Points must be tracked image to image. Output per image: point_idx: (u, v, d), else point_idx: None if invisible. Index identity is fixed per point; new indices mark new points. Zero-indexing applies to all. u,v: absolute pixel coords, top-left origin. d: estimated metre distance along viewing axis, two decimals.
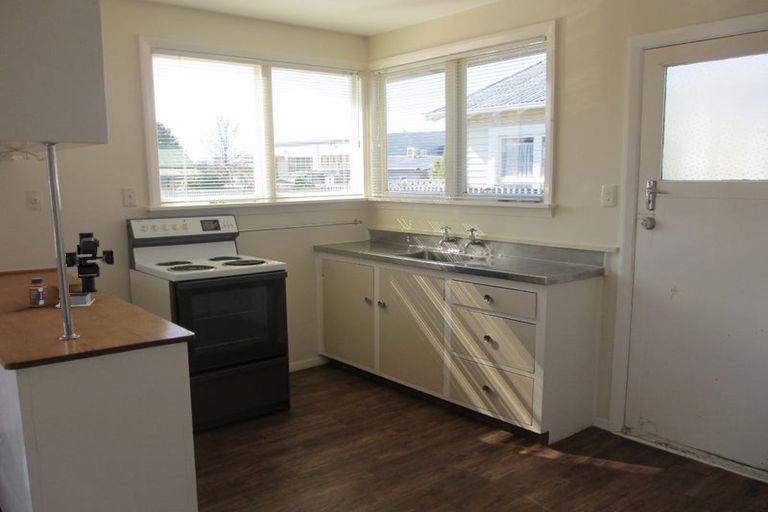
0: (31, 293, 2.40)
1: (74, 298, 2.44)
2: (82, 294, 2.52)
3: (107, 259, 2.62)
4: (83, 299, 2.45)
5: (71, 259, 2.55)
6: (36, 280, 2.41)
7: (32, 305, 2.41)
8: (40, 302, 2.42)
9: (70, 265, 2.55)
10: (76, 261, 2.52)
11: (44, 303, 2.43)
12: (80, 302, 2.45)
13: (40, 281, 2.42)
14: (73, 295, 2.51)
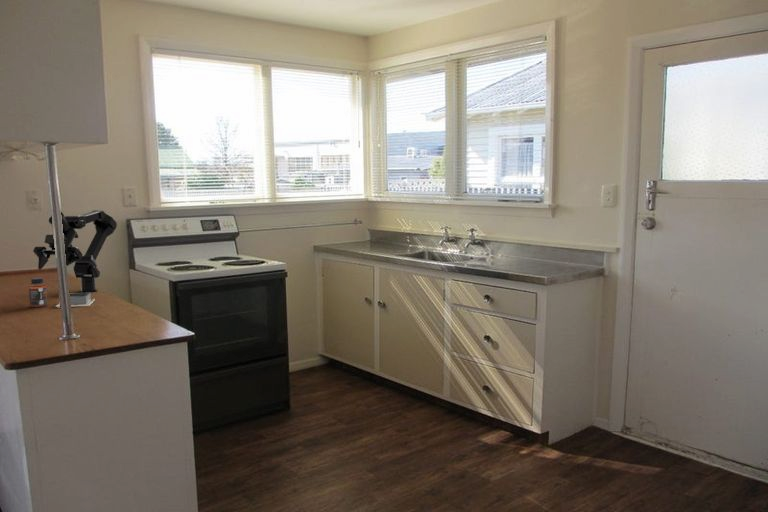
0: (31, 293, 2.40)
1: (74, 298, 2.44)
2: (82, 294, 2.52)
3: (72, 257, 2.54)
4: (83, 299, 2.45)
5: None
6: (36, 280, 2.41)
7: (32, 305, 2.41)
8: (40, 302, 2.42)
9: None
10: None
11: (44, 303, 2.43)
12: (80, 302, 2.45)
13: (40, 281, 2.42)
14: (73, 295, 2.51)
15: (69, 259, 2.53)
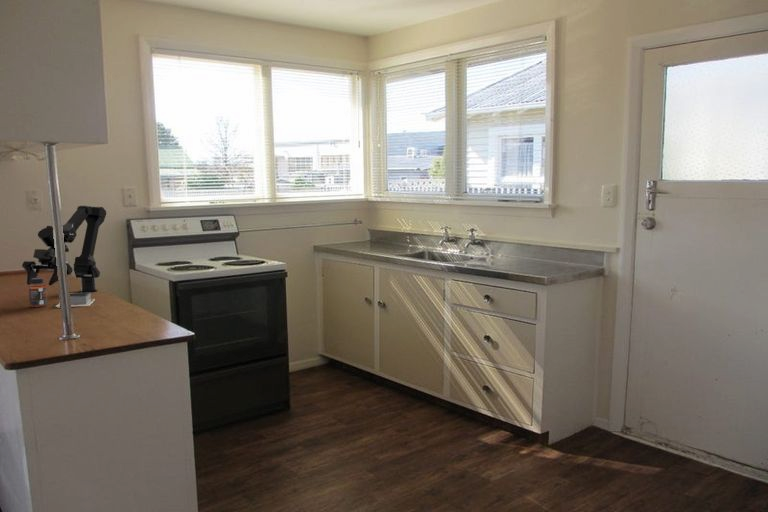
0: (31, 293, 2.40)
1: (74, 298, 2.44)
2: (82, 294, 2.52)
3: None
4: (83, 299, 2.45)
5: None
6: (36, 280, 2.41)
7: (32, 305, 2.41)
8: (40, 302, 2.42)
9: None
10: None
11: (44, 303, 2.43)
12: (80, 302, 2.45)
13: (40, 281, 2.42)
14: (73, 295, 2.51)
15: None
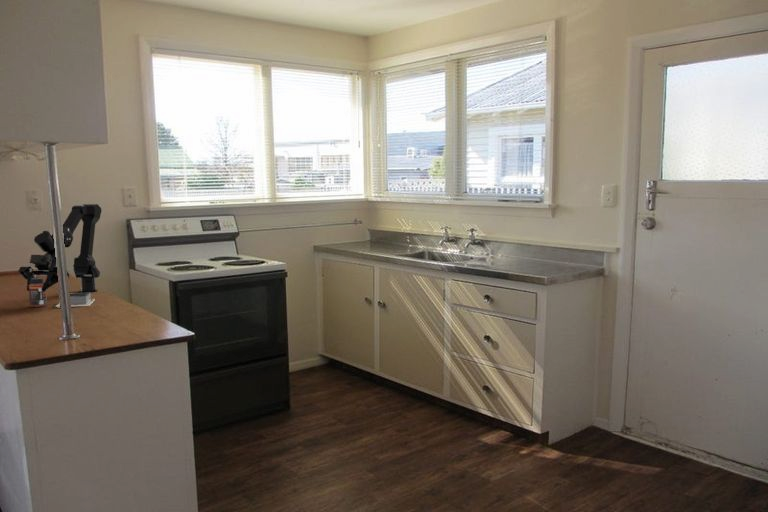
0: (31, 293, 2.40)
1: (74, 298, 2.44)
2: (82, 294, 2.52)
3: (55, 278, 2.45)
4: (83, 299, 2.45)
5: None
6: (36, 280, 2.41)
7: (32, 305, 2.41)
8: (40, 302, 2.42)
9: None
10: None
11: (44, 303, 2.43)
12: (80, 302, 2.45)
13: (40, 281, 2.42)
14: (73, 295, 2.51)
15: (52, 280, 2.45)
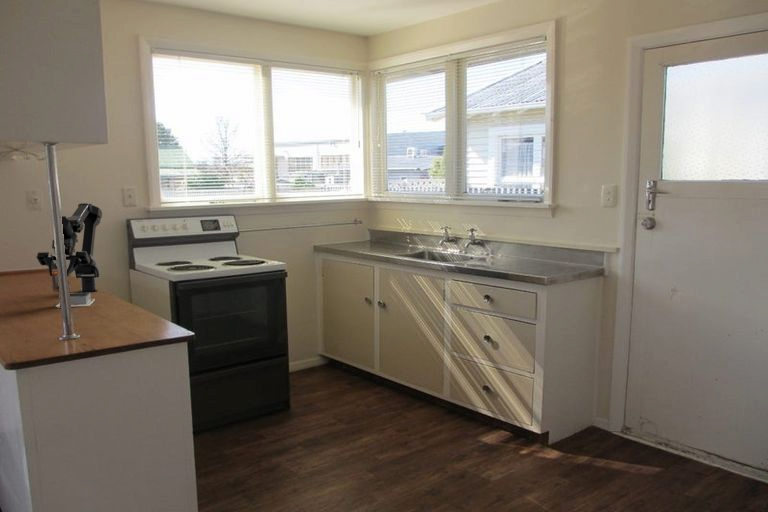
0: (56, 278, 2.42)
1: (74, 298, 2.44)
2: (82, 294, 2.52)
3: (77, 262, 2.49)
4: (83, 299, 2.45)
5: None
6: None
7: (57, 290, 2.43)
8: None
9: (49, 265, 2.48)
10: None
11: None
12: (80, 302, 2.45)
13: None
14: (73, 295, 2.51)
15: (74, 264, 2.48)
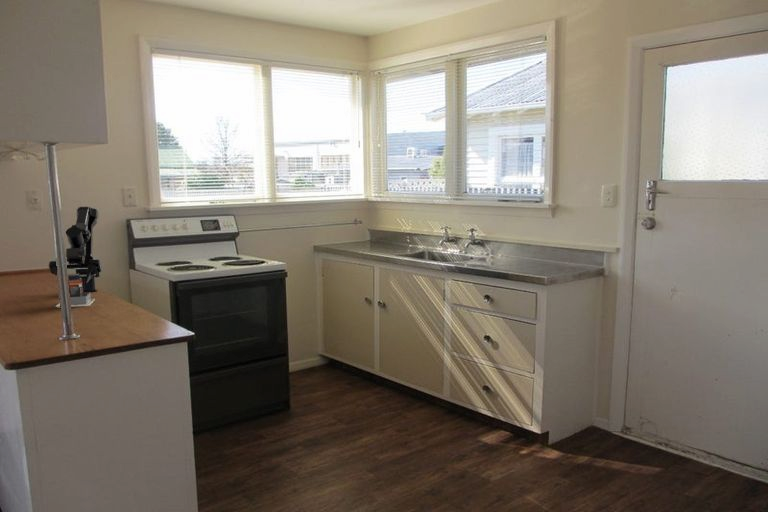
0: (71, 289, 2.45)
1: (74, 298, 2.44)
2: None
3: (93, 270, 2.52)
4: (83, 299, 2.45)
5: None
6: (75, 276, 2.46)
7: None
8: None
9: (56, 274, 2.50)
10: None
11: None
12: (80, 302, 2.45)
13: (78, 277, 2.47)
14: None
15: (91, 272, 2.52)
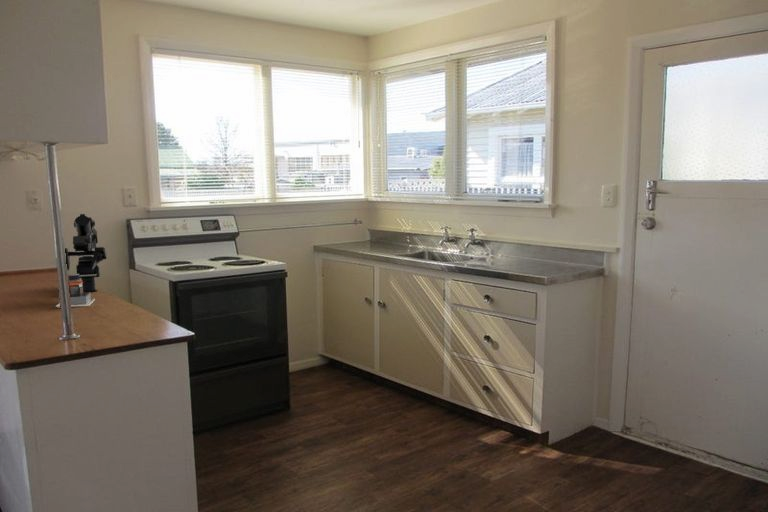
0: (71, 289, 2.45)
1: (74, 298, 2.44)
2: None
3: (99, 257, 2.64)
4: (83, 299, 2.45)
5: None
6: (75, 276, 2.46)
7: None
8: None
9: None
10: None
11: None
12: (80, 302, 2.45)
13: (78, 277, 2.47)
14: None
15: (96, 259, 2.63)
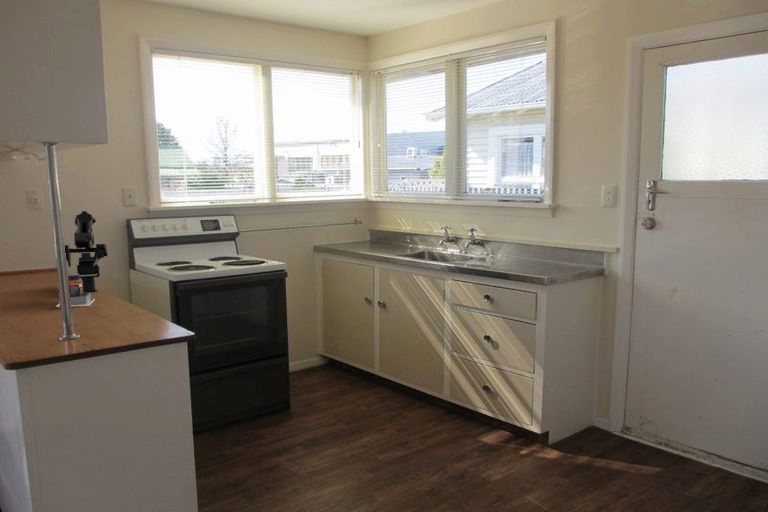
0: (71, 289, 2.45)
1: (74, 298, 2.44)
2: None
3: (100, 254, 2.65)
4: (83, 299, 2.45)
5: None
6: (75, 276, 2.46)
7: None
8: None
9: None
10: (68, 263, 2.58)
11: None
12: (80, 302, 2.45)
13: (78, 277, 2.47)
14: None
15: (97, 256, 2.64)
